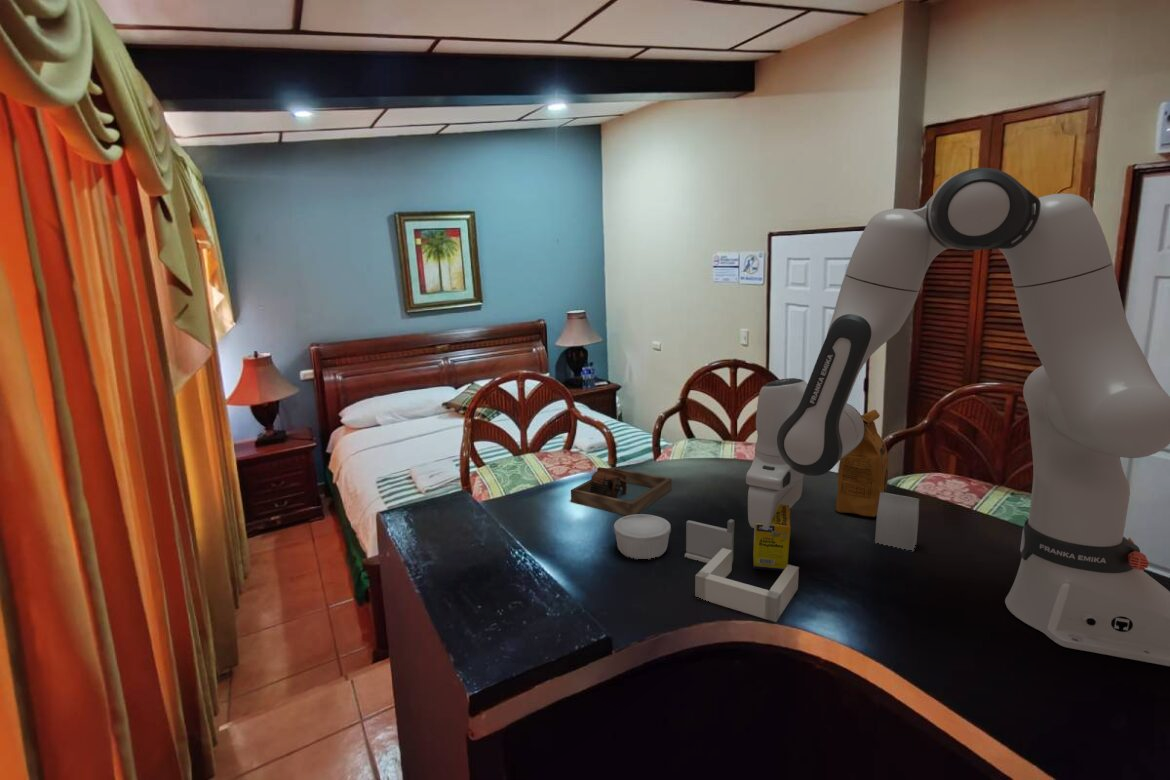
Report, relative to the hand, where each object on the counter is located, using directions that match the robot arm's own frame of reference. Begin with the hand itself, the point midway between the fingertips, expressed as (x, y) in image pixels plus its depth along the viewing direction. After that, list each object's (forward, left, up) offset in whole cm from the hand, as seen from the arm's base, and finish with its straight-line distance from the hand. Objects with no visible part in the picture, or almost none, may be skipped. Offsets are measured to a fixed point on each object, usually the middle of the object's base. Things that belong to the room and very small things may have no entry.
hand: (775, 534), depth 114 cm
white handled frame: (+4, +14, -4) cm, 15 cm away
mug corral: (+41, -11, -4) cm, 42 cm away
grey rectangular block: (-18, -17, -5) cm, 25 cm away
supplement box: (0, +4, -3) cm, 5 cm away
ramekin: (+23, +11, -5) cm, 26 cm away
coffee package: (-9, -32, -5) cm, 34 cm away
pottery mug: (+43, -9, -5) cm, 44 cm away
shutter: (+10, +8, -3) cm, 13 cm away
